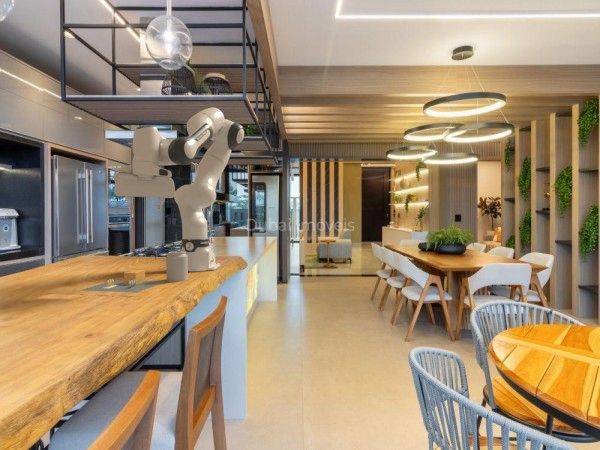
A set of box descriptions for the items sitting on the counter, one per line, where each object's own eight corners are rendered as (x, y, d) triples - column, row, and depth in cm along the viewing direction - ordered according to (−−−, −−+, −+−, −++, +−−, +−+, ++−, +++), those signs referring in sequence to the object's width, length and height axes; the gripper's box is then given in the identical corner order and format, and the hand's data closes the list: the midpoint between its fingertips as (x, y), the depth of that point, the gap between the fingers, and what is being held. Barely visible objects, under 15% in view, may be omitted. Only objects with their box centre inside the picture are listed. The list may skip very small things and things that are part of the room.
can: (184, 285, 140) (183, 252, 139) (163, 285, 140) (163, 252, 140) (190, 281, 147) (190, 250, 147) (170, 281, 148) (170, 250, 147)
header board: (117, 283, 144) (117, 272, 144) (167, 285, 141) (167, 274, 140) (80, 294, 125) (80, 282, 125) (137, 297, 122) (136, 284, 122)
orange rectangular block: (134, 281, 141) (134, 270, 141) (145, 281, 140) (145, 270, 140) (124, 284, 135) (123, 272, 135) (135, 284, 134) (135, 273, 134)
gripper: (112, 168, 132) (112, 208, 132) (175, 172, 140) (175, 210, 140) (114, 170, 138) (113, 209, 138) (174, 173, 145) (174, 210, 146)
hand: (145, 209), depth 139 cm, fingers open, 8 cm apart
